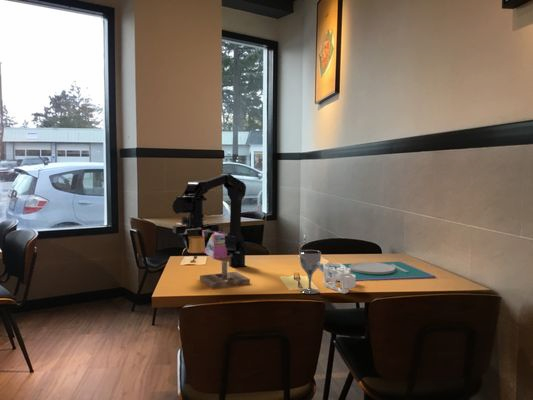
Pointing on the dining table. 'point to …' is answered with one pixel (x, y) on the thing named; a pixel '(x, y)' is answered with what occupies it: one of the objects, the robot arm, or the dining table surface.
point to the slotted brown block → (224, 278)
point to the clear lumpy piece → (338, 277)
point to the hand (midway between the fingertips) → (196, 248)
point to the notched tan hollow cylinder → (196, 244)
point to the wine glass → (310, 266)
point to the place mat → (383, 271)
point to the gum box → (216, 245)
